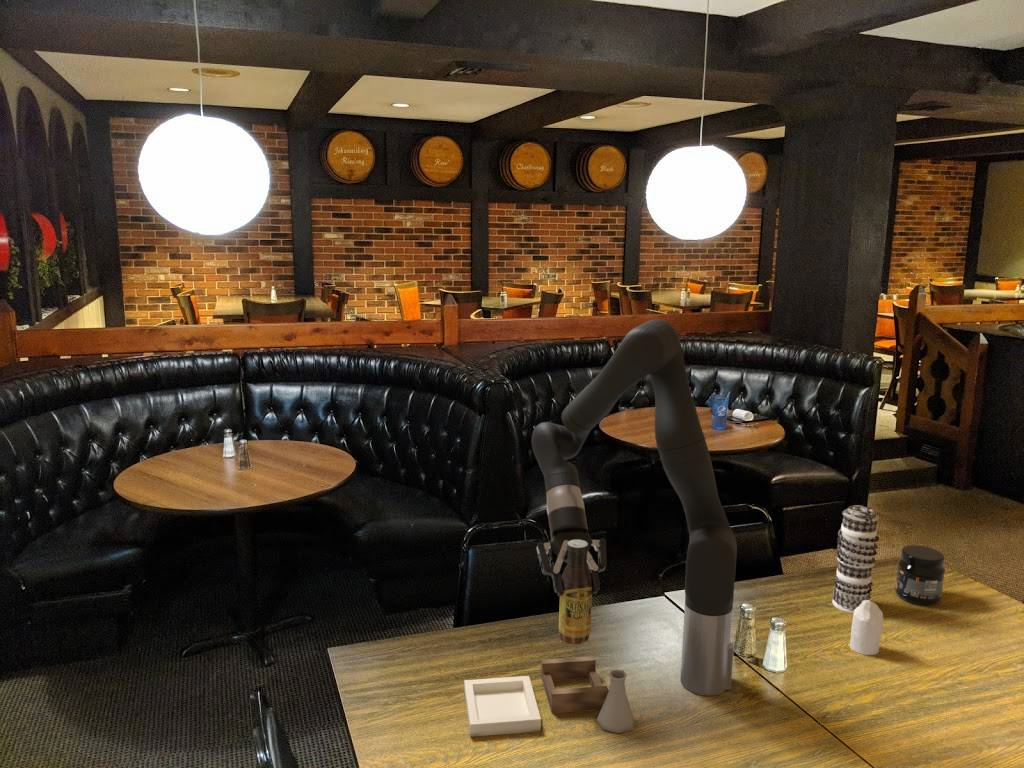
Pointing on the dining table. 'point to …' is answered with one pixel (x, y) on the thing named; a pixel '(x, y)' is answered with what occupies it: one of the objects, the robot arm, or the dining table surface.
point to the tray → (501, 706)
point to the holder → (573, 696)
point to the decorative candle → (855, 557)
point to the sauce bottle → (576, 595)
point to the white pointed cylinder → (866, 628)
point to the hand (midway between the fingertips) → (578, 593)
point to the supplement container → (920, 575)
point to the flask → (616, 706)
